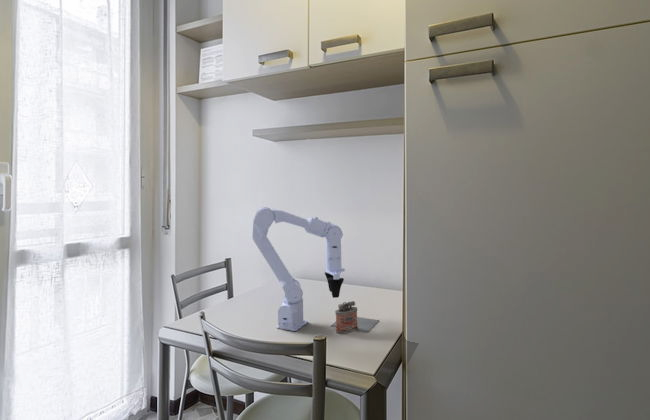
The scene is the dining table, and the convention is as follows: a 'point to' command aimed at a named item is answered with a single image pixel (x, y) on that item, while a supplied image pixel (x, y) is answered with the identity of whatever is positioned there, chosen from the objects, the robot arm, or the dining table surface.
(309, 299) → the dining table surface
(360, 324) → the mat
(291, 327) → the robot arm
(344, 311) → the lighter
